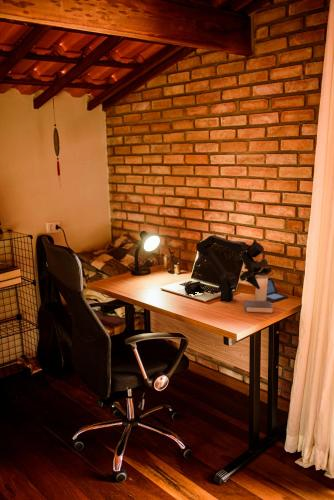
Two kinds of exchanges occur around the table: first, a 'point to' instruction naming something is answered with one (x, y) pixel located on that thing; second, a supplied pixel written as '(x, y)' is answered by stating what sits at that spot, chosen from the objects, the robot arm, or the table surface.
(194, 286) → the end cap
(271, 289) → the handheld game console
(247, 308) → the gray book
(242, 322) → the table surface
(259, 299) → the pen cup
